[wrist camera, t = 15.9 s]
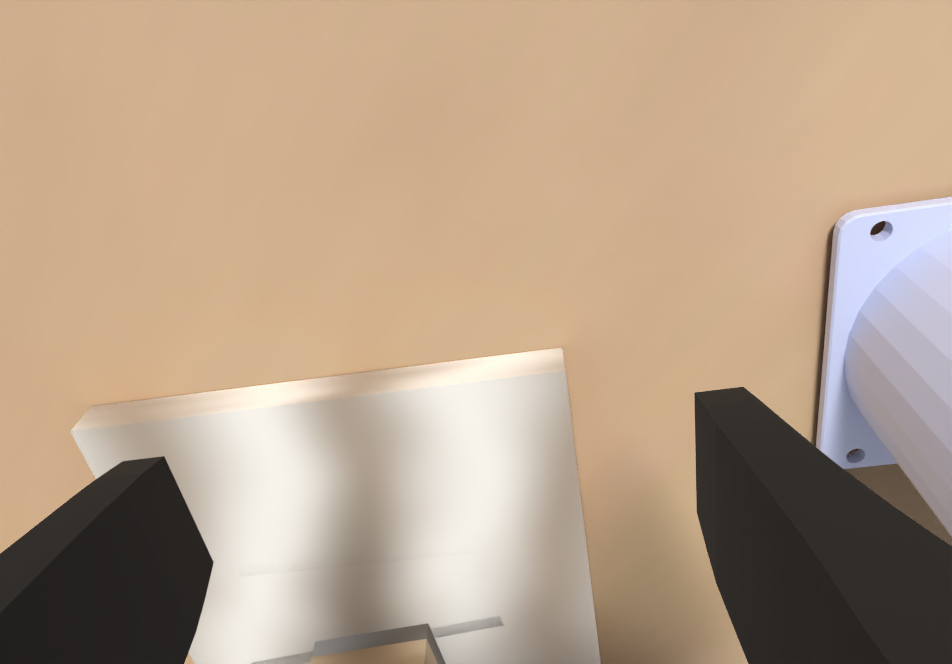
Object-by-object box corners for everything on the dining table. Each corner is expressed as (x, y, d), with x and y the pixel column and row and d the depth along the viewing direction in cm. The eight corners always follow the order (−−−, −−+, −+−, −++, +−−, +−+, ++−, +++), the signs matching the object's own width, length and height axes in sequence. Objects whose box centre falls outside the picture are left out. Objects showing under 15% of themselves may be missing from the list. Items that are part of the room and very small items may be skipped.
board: (562, 347, 20) (565, 370, 19) (608, 735, 29) (613, 765, 28) (90, 406, 22) (70, 431, 21) (269, 759, 30) (261, 789, 29)
